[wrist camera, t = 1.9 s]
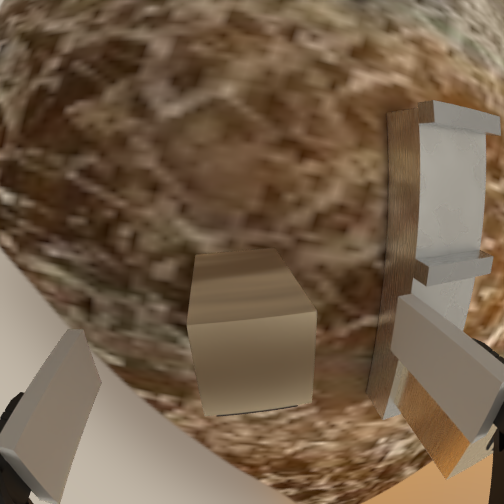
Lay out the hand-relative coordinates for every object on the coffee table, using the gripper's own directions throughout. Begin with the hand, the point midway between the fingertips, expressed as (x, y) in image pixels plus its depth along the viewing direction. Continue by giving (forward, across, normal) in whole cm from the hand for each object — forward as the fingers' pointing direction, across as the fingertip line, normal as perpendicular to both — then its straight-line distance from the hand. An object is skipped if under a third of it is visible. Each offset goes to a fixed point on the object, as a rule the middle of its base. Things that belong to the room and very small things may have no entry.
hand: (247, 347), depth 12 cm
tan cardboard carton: (+5, 0, 0) cm, 5 cm away
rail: (+5, +11, 0) cm, 12 cm away
